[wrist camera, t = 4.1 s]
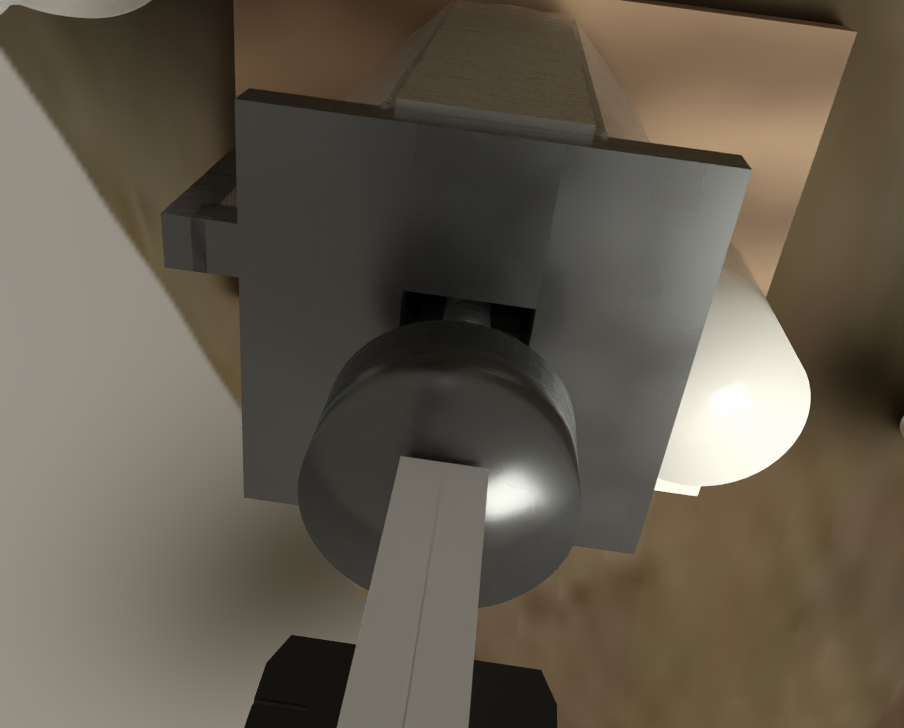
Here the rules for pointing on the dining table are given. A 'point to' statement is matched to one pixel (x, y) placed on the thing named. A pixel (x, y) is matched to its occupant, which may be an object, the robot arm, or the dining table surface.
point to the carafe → (469, 239)
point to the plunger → (447, 446)
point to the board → (633, 65)
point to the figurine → (78, 7)
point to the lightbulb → (902, 426)
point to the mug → (736, 391)
